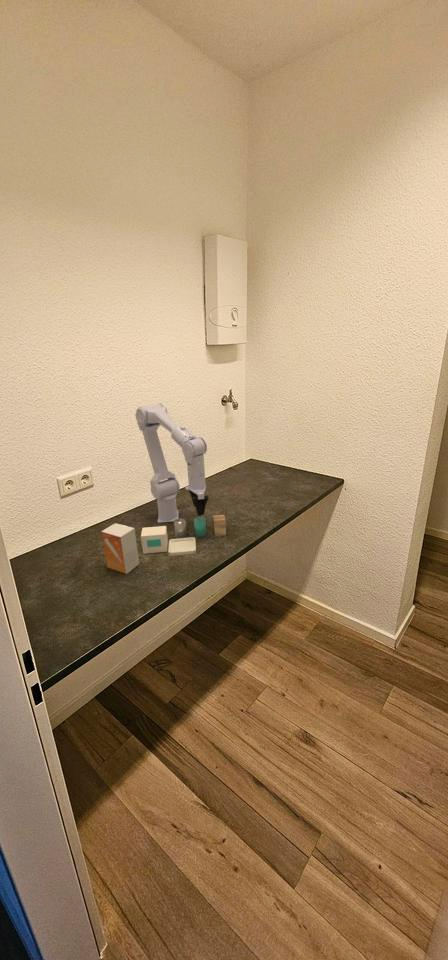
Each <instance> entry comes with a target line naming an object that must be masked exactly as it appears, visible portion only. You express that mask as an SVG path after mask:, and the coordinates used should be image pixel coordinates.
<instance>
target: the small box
mask: <svg viewBox="0 0 448 960" xmlns="http://www.w3.org/2000/svg"><path fill="white" fill-rule="evenodd" d="M100 533H101V538H102V539H101V540H102V544H103V551H104V555H105V556H104V557H105V562H106V567H107V569H110V570H114V571H117V572H120V573H123V574H125V575H127V574H129V573H130V572H131V571H132V570H133V569H135V568H136V567H138V566H139V565H140V557H139V550H138V544H137V538H136V537H137V536H136V529H135V527H131V526H127V525H124V524H119V523H117V522H115V523H112V524H111V525H110V526H108V527H106V528H105V529H103V530H101V532H100Z"/></svg>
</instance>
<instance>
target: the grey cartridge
mask: <svg viewBox="0 0 448 960" xmlns="http://www.w3.org/2000/svg"><path fill="white" fill-rule="evenodd" d="M173 525H174V535H175V539H180V538H187V522H186V519H185V518H182V517H181V518H180V517H179V519H176V520H174V522H173Z"/></svg>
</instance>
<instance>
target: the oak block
mask: <svg viewBox="0 0 448 960" xmlns="http://www.w3.org/2000/svg"><path fill="white" fill-rule="evenodd" d="M212 517H213V532H214V536H215V537H218V536H219V537H220V536H227V526H226V525H227V524H226V523H227V522H226V516H225V514H219V515H217V514H216V515H213V516H212Z"/></svg>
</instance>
